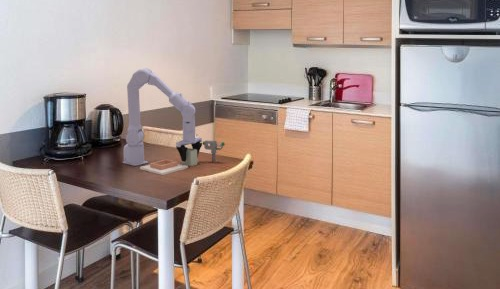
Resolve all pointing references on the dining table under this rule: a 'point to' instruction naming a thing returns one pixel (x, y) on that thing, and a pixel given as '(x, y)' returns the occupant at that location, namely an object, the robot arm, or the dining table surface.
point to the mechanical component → (213, 147)
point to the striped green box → (191, 157)
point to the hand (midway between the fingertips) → (189, 159)
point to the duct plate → (164, 167)
